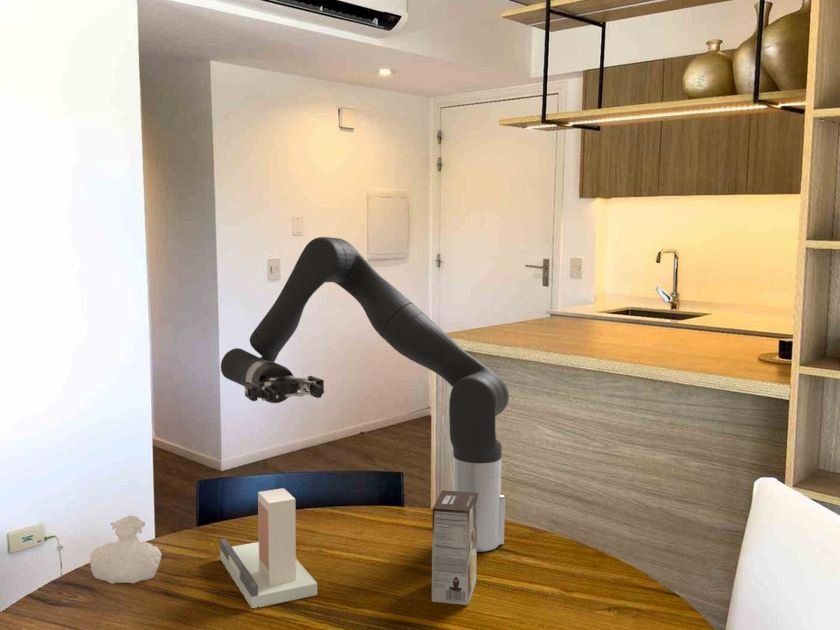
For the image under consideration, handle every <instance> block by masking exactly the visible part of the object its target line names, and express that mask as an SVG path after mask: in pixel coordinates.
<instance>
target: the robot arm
mask: <svg viewBox="0 0 840 630" xmlns="http://www.w3.org/2000/svg"><path fill="white" fill-rule="evenodd" d="M325 283H334V284H337V285H338V286H339V287H341V288H342V289H343V290H344V291H346V292H347V293H348V294H350V295H351V296H352V297H353V298H354V299H355V300H356V301H357V302H358V303H359V304H360V306H361V307H362V309H363V311H364V312H365V315H366V317H367V318H368V321H369V322H370V324H371V326H372V327H373V329H374V330H375V332H376V333H377V334H378V335H379V336H380V337H381V338H382V339H384V340H385V342H386V343H388V344H389V345H390V346H391V347H392V348H393V349H394V350H395V351H396V352H398V353H399V354H400V355H402V356H403V357H405V358H407V359H409V360H411V361H412V362H413V363H416V364H418V365H420V366H422V367H423V368H425V369H428V370H429V371H432V372H433V373H436V374H437V375H438V376H440V377H441V378H442V379H444V381H446V382H447V383H448V384H449V385H450V386H451V387H452V389H451V392H450V395H449V400H448V401H449V406H448V408H449V409H448V414H449V439H450V444H451V446H452V448H453V449H452V450H453V458H452V459H453V461H452V462H453V463H452V491H459V492H474V493H478V499H477V552H478V553H479V552H480V553H481V552H488V551H493V550H495V549H497V548H498V547H499V546H501V545H504V543H505V512H506V510H505V508H506V507H505V506H506V498H505V497H506V496H505V495H504V494H502V493H501V492H502V456H503V455H502V452H503V449H502V448H503V446H502V443H501V442H500V440H498V439H497V435H496V416H499V415H500V414H501V413H502V412H504V411H505V409H506V408H507V406H508V404H509V400H510V399H509V398H510V397H509V396H510V395H509V390H508V387H507V385H506V383H505V382H504V381H503V379H502V378H501V377H500V376H499V375H498V374H497V373H496V372H495V371H493V370H492V369H490V368H489V367H487V366H486V365H485V364H483V363H482V362H480V361H479V360H478V359H476V358H475V357H473V356H472V355H471V354H469V352H467V351H466V350H464V349H463V348H462V347H461V346H460V345H459V344H458V343H457V342H455V341H454V340H453V338H451V337H450V335H448V334H447V332H445V331H444V330H443V329H441V328H440V326H439V325H438V324H436V323H435V322H434V321H433V320H432V319H431V318H430V317H429V316H428V315H427V314H426V313H425V312H424V311H422V310H421V309H420V308H419V307H418V306H417V305H415V304H414V303H413V302H412V301H411V300H410V299H409V298H407V297H406V296H405V295H404V294H403V293H401V292H400V291H399V290H398V289H397V288H396V287H395V286H393V285H392V284H391V283H390V282H389V281H387V280H386V279H385V278H383V277H382V276H381V275H380V274H379V273H378V272H377V270H375V269H374V268H373V266H371V265H370V263H369V262H368V261H367V260H366V259H365V258H364V257H363V256H362V254H361V253H360V252H359V251H358V250H357V249H356V247H354V245H352V244H351V243H350V242H348V240H345V239H343V238H339V237H329V236H319V237H316V238H313V239H311V240H310V241H309V242H308V243H307V244H306V245H305V247H304V249H303V250H302V252H301V254H300V255H299V257H298V260H297V261H296V263H295V265H294V267H293V269H292V271H291V273H290V274H289V277H288V279H287V281H285V284H284V286H283V288H282V290H281V292H280V293H279V295H278V296H277V299H276V300H275V301H274V303H273V304H272V306H271V307H270V309H269V310H268V312H267V313H266V315H265V316H264V317H263V318H262V320H261V321H260V322H259V324H258V325H257V326H256V328H255V329H254V330H253V332H252V333H251V334H250V337H249V344H250V346H251V348H252V349H253V350H254V351H255V352H256V353H257V354H259V355H260V356H261V357H258V356H257V355H255V354H252V353H250V352H249V351H246V350H244V349H243V348H238V347H236V348H233V349H230V350H229V351H227V352H226V353H225V354H224V356H223V358H222V359H221V362H220V372H221V374H222V375H223V377H224V378H225V379H227V380H230V381H232V382H234V383H236V384H238V385H240V386H243V387H244V396H245V397H246V398H247V399H248V400H250V401H251V402H256V401H257V402H258V399H261V401H263V402H266V403H270V404H280V403H282V402H285V401H286V400H287V399H289V398H291V397H301V398H302V397H305V396H312V397H313V398H316V399H319V398H322V396H324V394H325V386H324V385H325V384H324V383H325V380H324V379H322V378H319V377H316V376H312V375H309V376H307V377H299V376H298V377H296V376H294V374H293V373H292V372H291V370H290V369H289V368H287V367H286V366H284V365H281V364H279V363H277V362H275V361H277V357H278V355H279V354H280V352H281V351H282V350H283V347H285V346H286V344H287V343H288V342H289V340H291V338H292V337H293V334H295V332H296V331H297V328H298V326H299V325H300V322H301V318H302V316H303V312H304V309H305V308H306V305H307V303H308V301H309V300H310V299H311V298H312V296H313V295H314V294H315V293H316V291H317V290H318V289H320V288H321V287H322V286H323V284H325Z"/></svg>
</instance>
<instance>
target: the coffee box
mask: <svg viewBox="0 0 840 630" xmlns="http://www.w3.org/2000/svg"><path fill="white" fill-rule="evenodd" d="M440 492H441V493H440V494H439V496H438V498H437V499H436V501H435V503H434V505H433V507H432V528H431V529H432V530H431V531H432V534H431V536H432V537H431V538H432V539H431V541H432V543H431V545H432V547H431V602H434V603H441V604H453V605H462V606H469V604H470V601H471V599H472V595H473V592H474V589H475V586H476V582H477V556H478V555H477V499H478V493H474V492H459V491H453V490H442V491H440Z"/></svg>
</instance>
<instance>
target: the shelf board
mask: <svg viewBox="0 0 840 630" xmlns="http://www.w3.org/2000/svg"><path fill="white" fill-rule="evenodd" d="M219 543H220V545H219V547H220V548H219V551H220V553H219V554H220V556H219V557H220V561H221V562H222V565H225V566H224V567H225V569H226V570H227V572H228V574H229V573H230V574H229V575H230V577H231V578H232V580H233V581H234V583H235V584H236V586H237V588H238V587H239V588H238V589H239V590H240V593H241V594H242V596H243V595H244V596H243V597H244V598H245V600H246V602H247V604H248V605H249V607H250V606H251V607H250V608H251V609H252V608H254V609H258V608H257V607H259V608H264V607H267V606H272V605H277V604H282V603H285V602H292V601H295V600H299V599H300V600H301V599H305V598H310V597H314V596H318V582H317V581H316V580H315V579H314V578H313V576H311V574H310V573H309V572H308V571H307V570H306V568H305V567H304V566H303V565H302V563H300V562H299V560H298V559H297V558H296V580H295V581H290V582H285V583H280V584H275V585H271V586H270V585H269V584H268V583H267V581H266V580H265V579H264V577H263V576H262V575H261V573H260V572H259V541H257V542H251V543H246V544H238V545H233V546H232V545H231V544H230V543H229V541H228V539H227V538H221V539H219Z"/></svg>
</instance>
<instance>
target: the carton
mask: <svg viewBox="0 0 840 630" xmlns="http://www.w3.org/2000/svg"><path fill="white" fill-rule="evenodd" d="M257 497H258V498H257V506H258V507H257V508H258V512H257V514H258V515H257V516H258V520H257V521H258V523H257V524H258V542H259V572H260V573H261V575H262V576H263V577H264V579H265V580H266V581H267V583H268V584H269V585H270V586H271V585H275V584H280V583H285V582H290V581H295V580H296V559H297V551H296V550H297V549H296V548H297V547H296V545H297V542H296V541H297V540H296V538H297V537H296V533H297V532H296V531H297V530H296V526H297V525H296V522H297V521H296V520H297V519H296V517H297V516H296V498H295V497H294V496H293V495H292V494H291V493H290V492H289V491H288V490H286V489H285V488H284V487H283V488H276V489H275V488H274V489H268V490H264V491H257Z"/></svg>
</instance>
